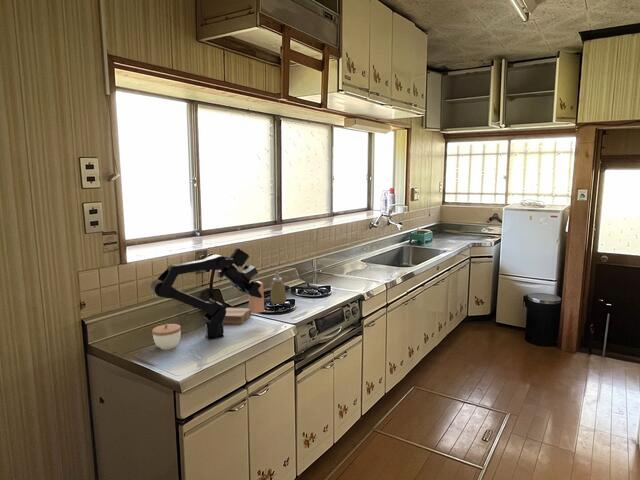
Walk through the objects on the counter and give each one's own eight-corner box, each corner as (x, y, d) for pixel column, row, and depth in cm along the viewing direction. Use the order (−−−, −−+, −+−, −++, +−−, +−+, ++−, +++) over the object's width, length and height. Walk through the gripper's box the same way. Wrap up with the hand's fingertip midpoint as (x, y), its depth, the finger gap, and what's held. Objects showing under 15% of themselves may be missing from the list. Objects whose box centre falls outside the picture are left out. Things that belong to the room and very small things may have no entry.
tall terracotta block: (254, 313, 191) (252, 284, 189) (249, 310, 195) (247, 282, 193) (264, 311, 193) (263, 282, 192) (259, 308, 198) (258, 280, 196)
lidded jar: (167, 340, 181) (165, 318, 180) (187, 343, 177) (185, 321, 176) (147, 350, 171) (145, 327, 170) (169, 353, 167) (167, 330, 166)
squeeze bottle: (279, 302, 230) (278, 269, 227) (289, 305, 224) (288, 271, 222) (267, 305, 224) (265, 271, 222) (277, 308, 219) (275, 274, 216)
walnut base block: (241, 324, 198) (241, 316, 198) (217, 323, 201) (216, 315, 200) (251, 316, 210) (250, 308, 209) (228, 315, 212) (227, 307, 212)
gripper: (255, 263, 181) (279, 285, 189) (237, 257, 196) (260, 278, 204) (238, 285, 178) (264, 306, 185) (221, 277, 193) (245, 297, 201)
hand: (258, 296), depth 194 cm, fingers closed on tall terracotta block, 5 cm apart
